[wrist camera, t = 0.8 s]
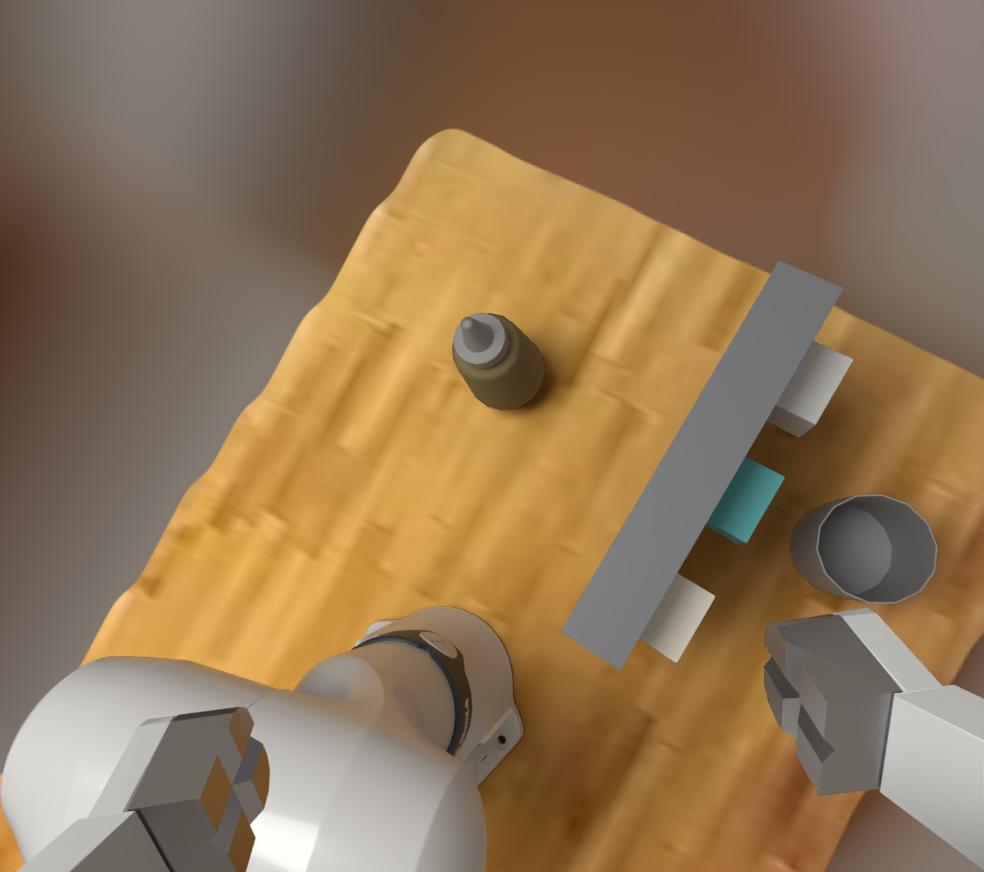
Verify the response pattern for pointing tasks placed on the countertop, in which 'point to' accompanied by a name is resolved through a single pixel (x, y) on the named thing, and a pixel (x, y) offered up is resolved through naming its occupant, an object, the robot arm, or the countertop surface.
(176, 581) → the countertop surface
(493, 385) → the squeeze bottle
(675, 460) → the button panel
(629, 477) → the countertop surface
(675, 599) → the cream push-block
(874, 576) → the cup
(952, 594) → the countertop surface
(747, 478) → the teal push-block
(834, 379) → the light grey push-block
